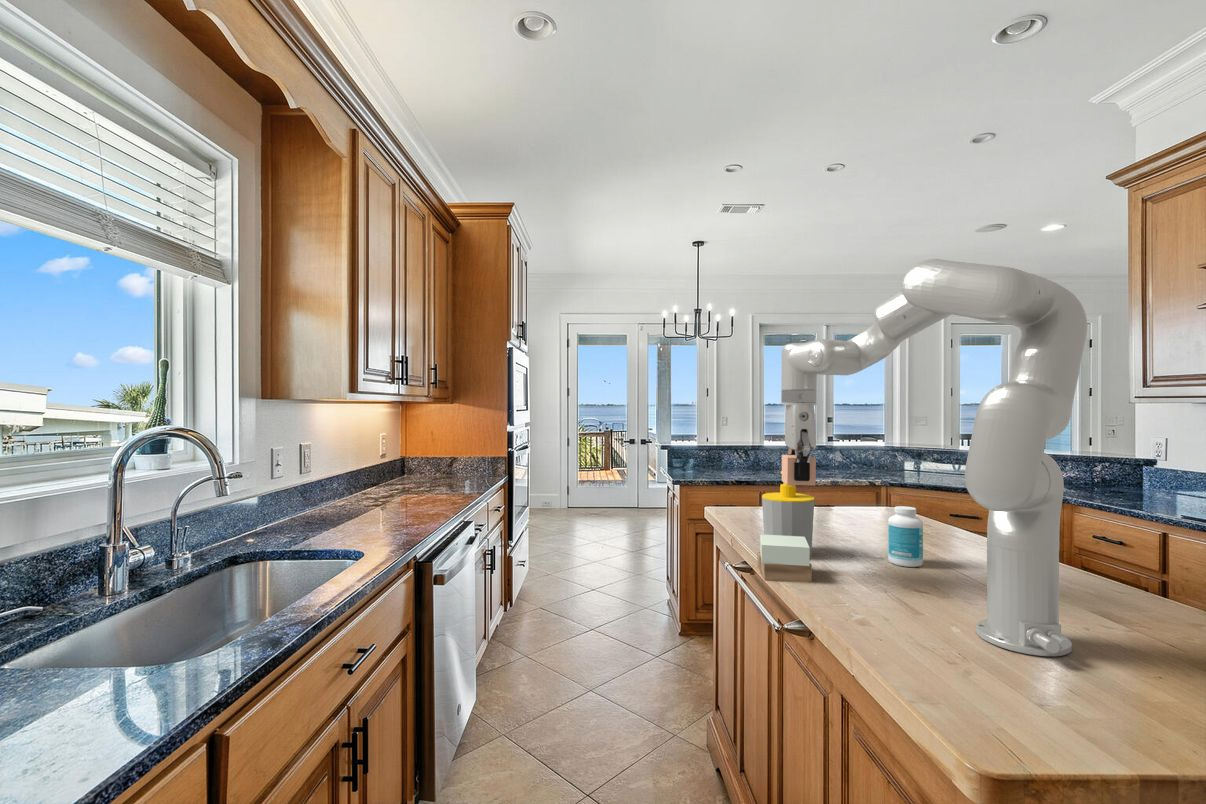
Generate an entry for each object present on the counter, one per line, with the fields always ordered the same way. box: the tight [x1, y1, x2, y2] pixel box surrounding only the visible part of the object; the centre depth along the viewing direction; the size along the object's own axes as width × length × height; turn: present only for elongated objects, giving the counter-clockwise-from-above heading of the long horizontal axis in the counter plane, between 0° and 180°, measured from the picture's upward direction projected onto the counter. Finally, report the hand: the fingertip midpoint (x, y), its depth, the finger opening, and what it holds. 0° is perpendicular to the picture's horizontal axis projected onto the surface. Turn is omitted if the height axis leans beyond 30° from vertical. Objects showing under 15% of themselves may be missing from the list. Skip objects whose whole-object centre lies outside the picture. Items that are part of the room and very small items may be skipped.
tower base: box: [756, 551, 813, 583], centre depth 129 cm, size 10×10×4 cm
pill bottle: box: [887, 505, 924, 568], centre depth 137 cm, size 8×7×14 cm
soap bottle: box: [761, 470, 815, 558], centre depth 146 cm, size 13×13×21 cm
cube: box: [781, 454, 817, 486], centre depth 127 cm, size 6×6×6 cm
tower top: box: [759, 533, 811, 566], centre depth 129 cm, size 10×10×4 cm
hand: (798, 477), depth 127 cm, fingers closed on cube, 6 cm apart
